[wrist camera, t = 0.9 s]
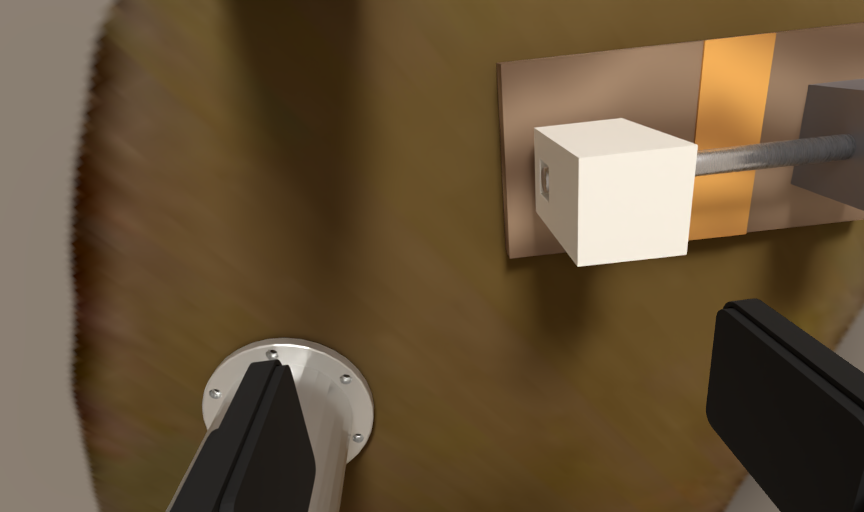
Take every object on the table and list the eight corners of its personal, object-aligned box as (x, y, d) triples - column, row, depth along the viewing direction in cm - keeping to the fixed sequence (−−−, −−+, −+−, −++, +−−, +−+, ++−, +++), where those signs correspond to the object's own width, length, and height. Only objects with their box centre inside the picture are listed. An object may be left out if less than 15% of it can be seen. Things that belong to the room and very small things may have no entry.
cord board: (854, 212, 35) (875, 219, 33) (505, 250, 35) (510, 260, 33) (900, 17, 30) (927, 15, 28) (496, 62, 30) (501, 63, 28)
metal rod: (832, 157, 29) (852, 162, 27) (541, 189, 29) (547, 196, 27) (837, 131, 28) (858, 136, 27) (541, 165, 28) (547, 170, 27)
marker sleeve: (618, 202, 31) (686, 254, 23) (535, 211, 31) (577, 266, 23) (621, 117, 29) (698, 144, 21) (534, 127, 29) (578, 158, 21)
